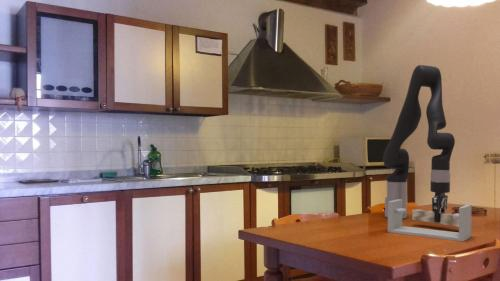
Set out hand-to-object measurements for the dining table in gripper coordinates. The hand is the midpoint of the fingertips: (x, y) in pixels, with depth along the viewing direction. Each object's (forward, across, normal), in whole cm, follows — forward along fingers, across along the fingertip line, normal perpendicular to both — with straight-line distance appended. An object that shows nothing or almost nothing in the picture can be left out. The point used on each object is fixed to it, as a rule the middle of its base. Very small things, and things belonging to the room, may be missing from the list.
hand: (439, 221), depth 195 cm
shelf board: (+1, 0, 0) cm, 1 cm away
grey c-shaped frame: (+3, +16, 0) cm, 16 cm away
